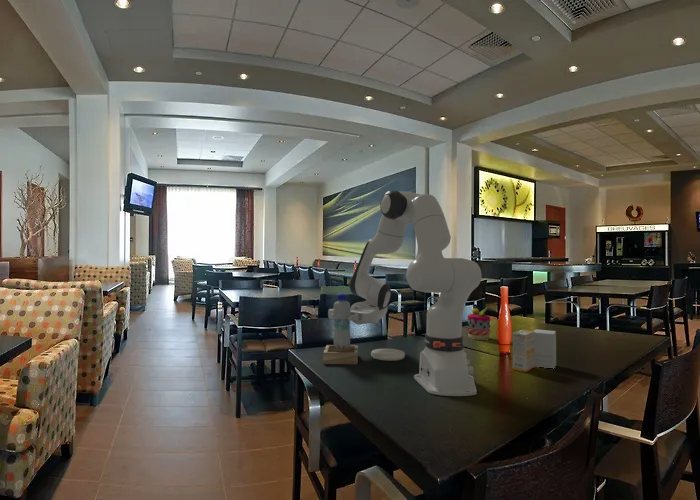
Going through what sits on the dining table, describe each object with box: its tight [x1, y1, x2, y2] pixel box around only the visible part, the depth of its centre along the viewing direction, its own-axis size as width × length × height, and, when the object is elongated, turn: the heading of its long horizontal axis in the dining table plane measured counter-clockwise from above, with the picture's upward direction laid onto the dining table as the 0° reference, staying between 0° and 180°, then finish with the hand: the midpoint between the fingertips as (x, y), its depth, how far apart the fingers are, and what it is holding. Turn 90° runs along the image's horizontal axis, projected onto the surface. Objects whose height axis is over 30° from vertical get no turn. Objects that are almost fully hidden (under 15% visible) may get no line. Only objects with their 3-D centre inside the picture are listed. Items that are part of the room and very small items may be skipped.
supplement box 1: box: [512, 329, 536, 373], centre depth 142 cm, size 8×5×13 cm, turn 135°
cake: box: [466, 306, 491, 341], centre depth 193 cm, size 10×11×15 cm
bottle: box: [332, 293, 351, 348], centre depth 152 cm, size 7×7×20 cm
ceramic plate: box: [370, 348, 406, 362], centre depth 157 cm, size 13×13×2 cm
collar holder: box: [322, 344, 359, 365], centre depth 152 cm, size 12×12×4 cm
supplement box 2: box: [533, 328, 557, 370], centre depth 146 cm, size 7×7×13 cm
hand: (340, 317), depth 151 cm, fingers closed on bottle, 6 cm apart
